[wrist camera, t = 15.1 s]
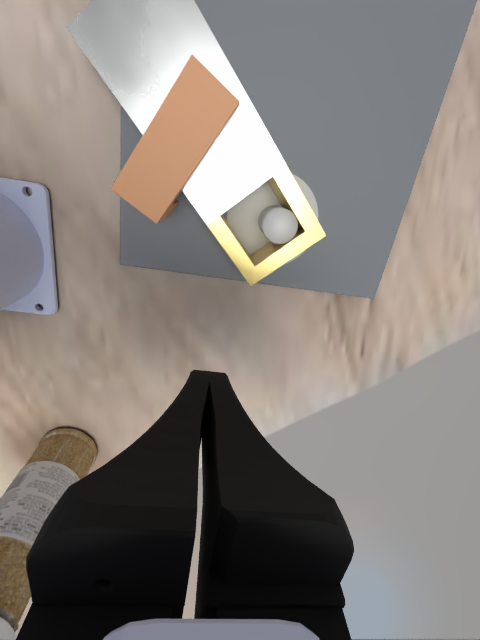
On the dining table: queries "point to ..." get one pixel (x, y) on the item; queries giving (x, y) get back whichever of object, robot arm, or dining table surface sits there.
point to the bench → (318, 134)
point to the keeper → (175, 141)
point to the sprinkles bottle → (35, 512)
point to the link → (234, 140)
